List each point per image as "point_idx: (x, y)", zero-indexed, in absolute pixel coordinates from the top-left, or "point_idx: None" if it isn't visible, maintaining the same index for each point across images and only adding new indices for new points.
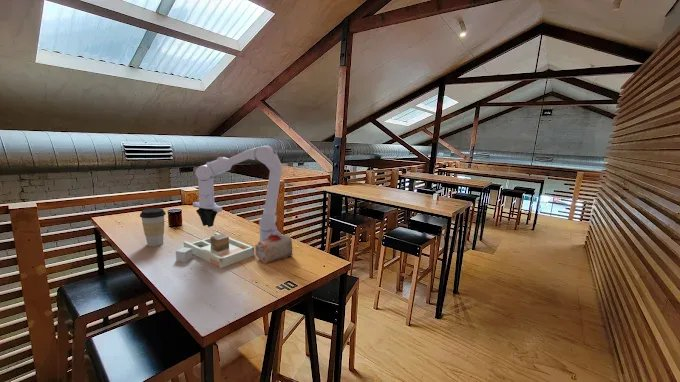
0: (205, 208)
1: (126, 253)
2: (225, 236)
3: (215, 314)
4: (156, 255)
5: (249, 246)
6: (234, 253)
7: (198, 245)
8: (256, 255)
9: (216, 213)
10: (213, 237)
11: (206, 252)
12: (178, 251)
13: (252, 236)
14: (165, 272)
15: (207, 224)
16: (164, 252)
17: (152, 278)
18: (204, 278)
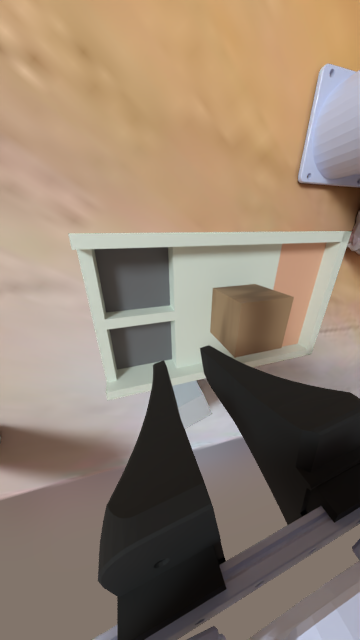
0: (253, 565)
1: (27, 491)
2: (280, 306)
3: (356, 391)
4: (102, 437)
5: (335, 239)
6: (321, 312)
7: (109, 333)
8: (352, 250)
9: (314, 394)
10: (248, 349)
11: (252, 367)
12: (192, 424)
13: (169, 2)
14: (214, 425)
15: (213, 388)
16: (92, 421)
17: (218, 441)
18: (291, 379)
